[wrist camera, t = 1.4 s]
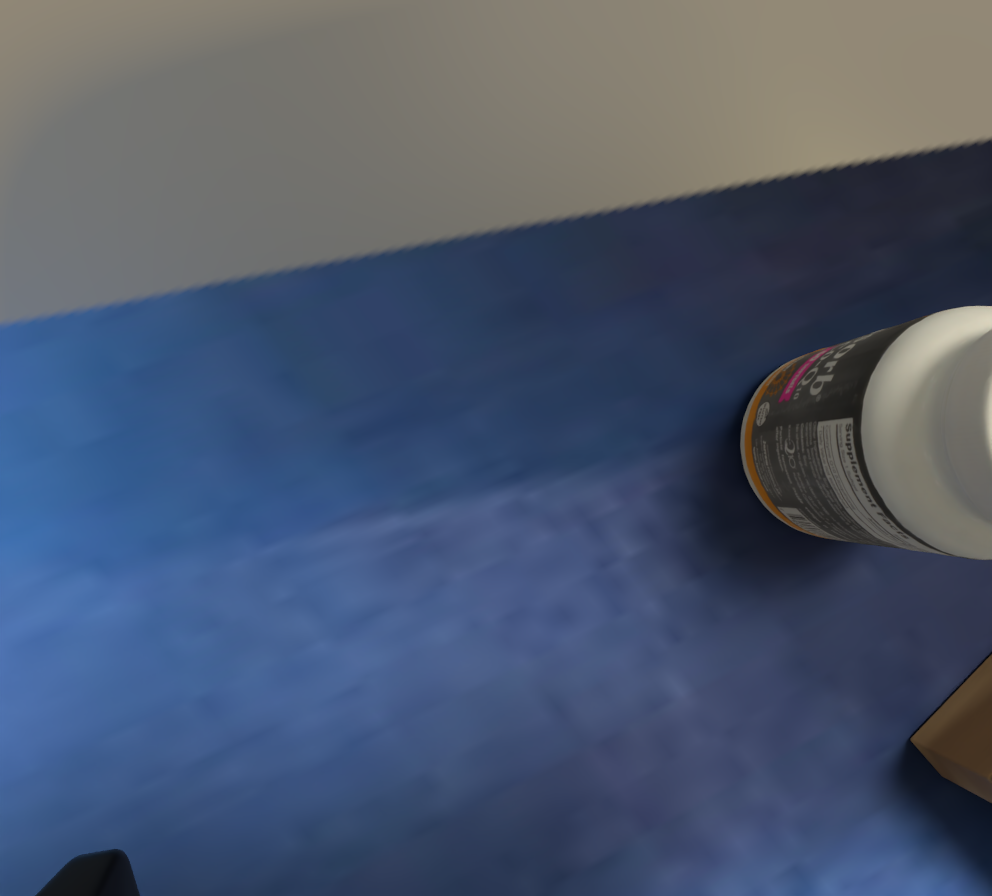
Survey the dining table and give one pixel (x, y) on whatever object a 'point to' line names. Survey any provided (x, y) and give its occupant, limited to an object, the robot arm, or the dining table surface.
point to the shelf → (963, 735)
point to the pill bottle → (882, 437)
